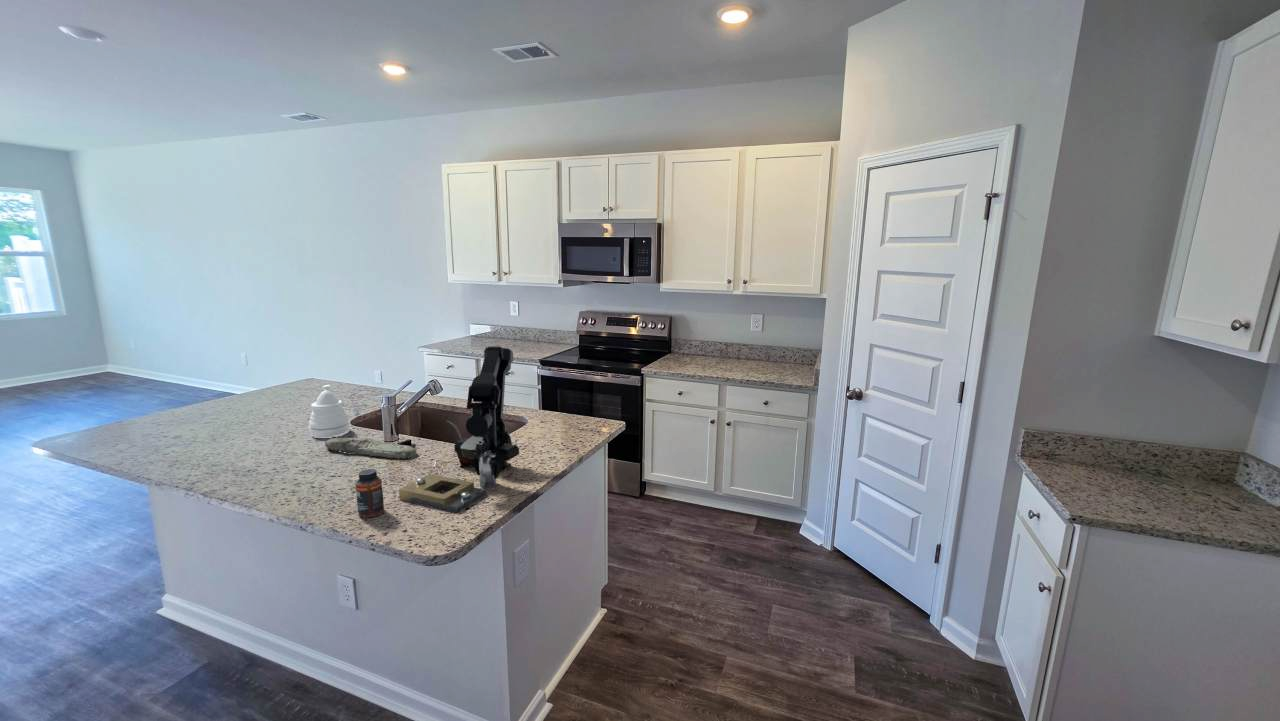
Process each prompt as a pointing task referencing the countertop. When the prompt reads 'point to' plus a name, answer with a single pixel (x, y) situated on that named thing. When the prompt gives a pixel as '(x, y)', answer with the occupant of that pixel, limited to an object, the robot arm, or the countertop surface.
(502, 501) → the countertop surface
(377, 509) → the supplement bottle
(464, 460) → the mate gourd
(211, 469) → the countertop surface
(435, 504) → the lower end link
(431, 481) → the upper end link
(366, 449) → the elongated rock
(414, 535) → the countertop surface
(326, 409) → the honey pot
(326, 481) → the countertop surface
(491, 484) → the pin
